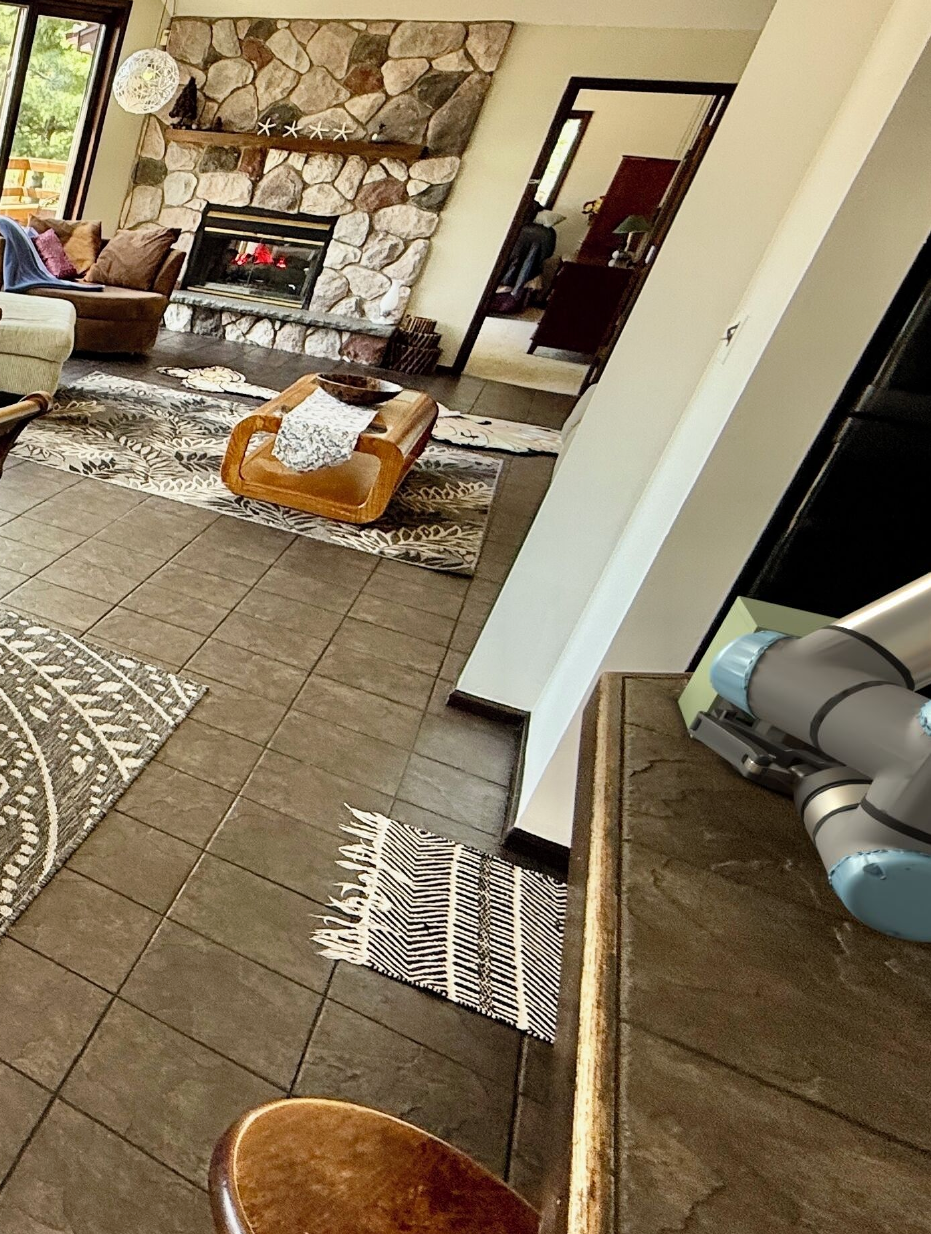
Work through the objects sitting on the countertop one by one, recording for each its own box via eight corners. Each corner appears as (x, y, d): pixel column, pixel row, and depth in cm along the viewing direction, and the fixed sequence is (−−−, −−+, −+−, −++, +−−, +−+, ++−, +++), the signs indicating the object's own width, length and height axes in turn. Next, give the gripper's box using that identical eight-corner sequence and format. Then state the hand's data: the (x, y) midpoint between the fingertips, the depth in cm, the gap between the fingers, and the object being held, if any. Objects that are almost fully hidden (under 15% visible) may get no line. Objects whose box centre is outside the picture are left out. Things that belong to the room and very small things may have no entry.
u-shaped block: (819, 743, 118) (892, 631, 112) (844, 785, 109) (925, 666, 103) (676, 703, 125) (738, 595, 119) (689, 740, 116) (756, 626, 110)
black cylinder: (813, 782, 110) (865, 704, 106) (829, 812, 104) (884, 731, 100) (722, 755, 114) (769, 679, 110) (733, 782, 108) (783, 703, 104)
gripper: (660, 795, 98) (639, 715, 114) (1052, 921, 84) (968, 811, 100) (698, 730, 95) (671, 658, 111) (1111, 850, 81) (1015, 749, 97)
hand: (812, 730), depth 105 cm, fingers open, 13 cm apart
